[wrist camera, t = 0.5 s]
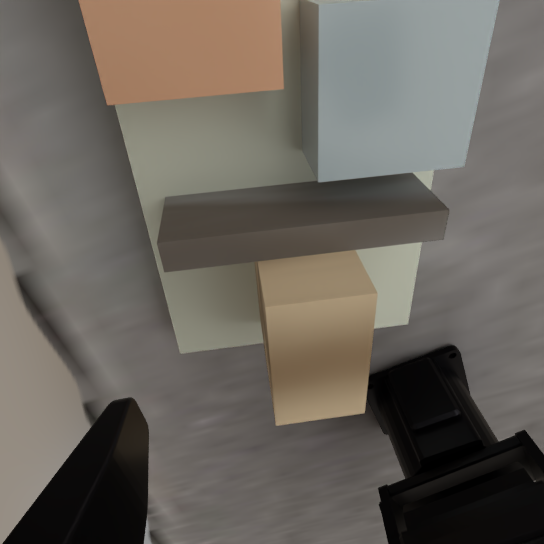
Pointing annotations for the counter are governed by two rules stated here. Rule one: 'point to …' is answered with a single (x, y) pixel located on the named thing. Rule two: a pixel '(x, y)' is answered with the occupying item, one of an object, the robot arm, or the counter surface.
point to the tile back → (390, 83)
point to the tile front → (184, 47)
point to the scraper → (306, 273)
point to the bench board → (238, 175)
